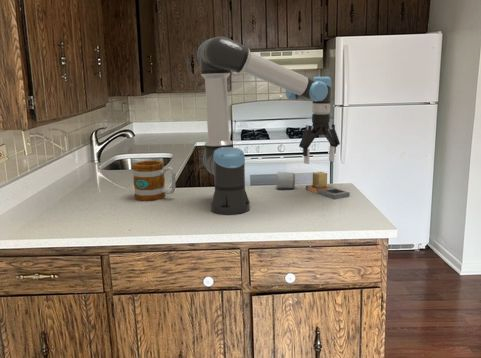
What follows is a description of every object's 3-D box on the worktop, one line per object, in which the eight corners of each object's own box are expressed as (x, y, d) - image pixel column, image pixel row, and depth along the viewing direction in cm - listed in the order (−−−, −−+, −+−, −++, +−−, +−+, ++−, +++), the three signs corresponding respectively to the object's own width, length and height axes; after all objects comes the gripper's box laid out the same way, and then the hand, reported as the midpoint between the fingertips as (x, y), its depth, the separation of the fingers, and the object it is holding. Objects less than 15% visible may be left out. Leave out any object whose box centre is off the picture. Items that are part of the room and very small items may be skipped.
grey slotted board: (334, 199, 192) (334, 194, 191) (305, 189, 209) (305, 185, 208) (349, 196, 195) (349, 191, 195) (320, 187, 212) (320, 183, 212)
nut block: (318, 192, 203) (318, 174, 202) (312, 190, 207) (312, 172, 206) (326, 191, 205) (327, 173, 204) (320, 189, 209) (320, 171, 208)
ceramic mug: (295, 190, 208) (295, 173, 207) (276, 190, 209) (276, 173, 207) (293, 185, 219) (293, 169, 217) (276, 185, 219) (276, 169, 218)
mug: (128, 200, 198) (125, 165, 195) (145, 192, 210) (143, 159, 207) (168, 203, 191) (166, 167, 187) (184, 195, 203) (182, 162, 200)
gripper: (302, 115, 190) (300, 166, 194) (349, 113, 202) (347, 161, 206) (291, 113, 197) (290, 163, 201) (338, 112, 208) (336, 158, 212)
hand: (319, 162), depth 203 cm, fingers open, 13 cm apart
